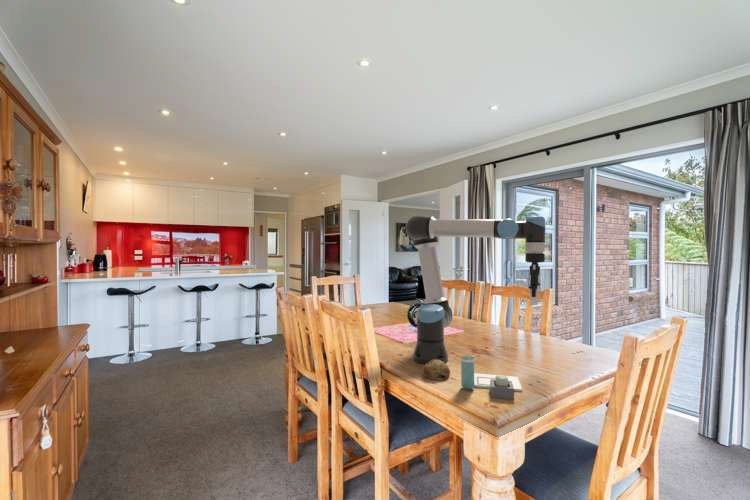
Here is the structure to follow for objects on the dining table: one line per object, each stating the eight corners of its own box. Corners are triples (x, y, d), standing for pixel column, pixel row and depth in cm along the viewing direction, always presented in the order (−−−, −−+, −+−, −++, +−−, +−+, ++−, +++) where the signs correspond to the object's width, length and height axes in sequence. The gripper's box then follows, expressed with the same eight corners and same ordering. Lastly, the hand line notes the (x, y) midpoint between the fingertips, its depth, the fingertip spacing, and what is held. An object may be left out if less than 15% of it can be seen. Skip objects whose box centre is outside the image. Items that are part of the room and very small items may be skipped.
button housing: (491, 397, 115) (491, 386, 115) (490, 389, 122) (490, 379, 122) (514, 399, 114) (514, 388, 113) (511, 391, 120) (511, 381, 120)
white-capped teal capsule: (461, 390, 121) (461, 359, 121) (461, 385, 125) (461, 355, 125) (474, 391, 120) (474, 360, 120) (474, 386, 124) (474, 356, 124)
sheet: (473, 387, 124) (473, 384, 124) (473, 375, 136) (473, 372, 136) (522, 391, 120) (522, 389, 120) (517, 379, 131) (517, 376, 131)
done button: (495, 391, 116) (495, 379, 116) (495, 386, 120) (494, 374, 120) (508, 392, 115) (508, 380, 115) (507, 387, 119) (507, 376, 119)
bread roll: (429, 390, 130) (434, 373, 127) (416, 370, 139) (420, 354, 136) (451, 386, 134) (456, 370, 131) (437, 367, 143) (442, 351, 140)
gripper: (544, 253, 136) (543, 307, 137) (545, 252, 159) (544, 299, 159) (523, 252, 140) (522, 306, 140) (527, 252, 162) (526, 298, 162)
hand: (534, 302), depth 150 cm, fingers open, 13 cm apart
